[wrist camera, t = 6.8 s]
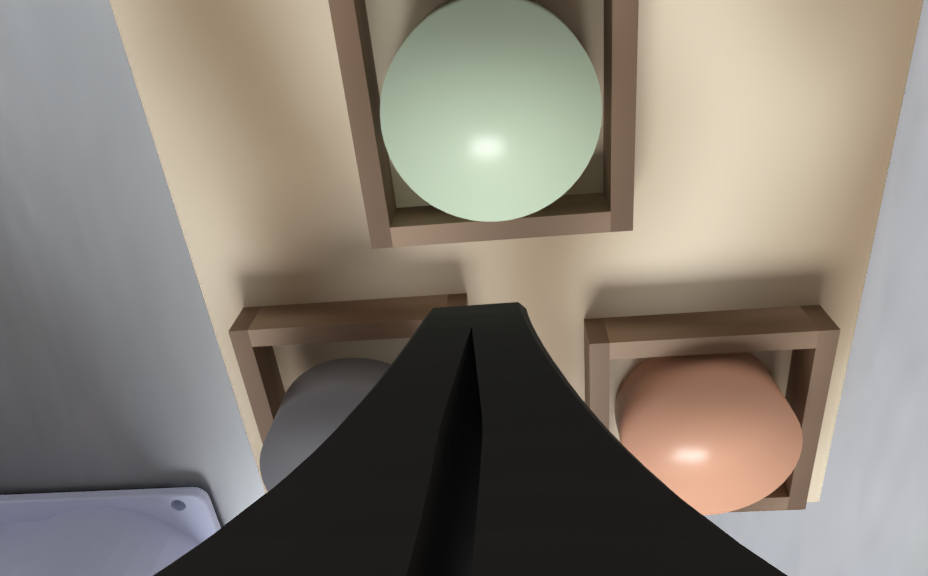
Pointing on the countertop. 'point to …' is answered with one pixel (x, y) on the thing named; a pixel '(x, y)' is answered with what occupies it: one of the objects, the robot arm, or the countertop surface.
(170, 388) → the countertop surface
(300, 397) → the charcoal button
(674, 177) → the button panel
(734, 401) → the terracotta button
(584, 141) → the sage button
